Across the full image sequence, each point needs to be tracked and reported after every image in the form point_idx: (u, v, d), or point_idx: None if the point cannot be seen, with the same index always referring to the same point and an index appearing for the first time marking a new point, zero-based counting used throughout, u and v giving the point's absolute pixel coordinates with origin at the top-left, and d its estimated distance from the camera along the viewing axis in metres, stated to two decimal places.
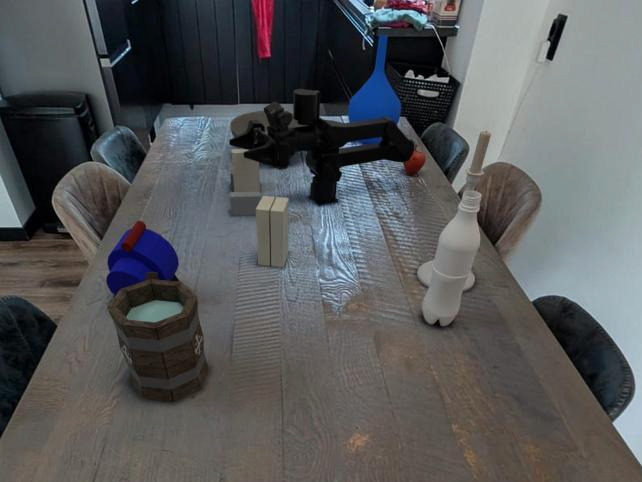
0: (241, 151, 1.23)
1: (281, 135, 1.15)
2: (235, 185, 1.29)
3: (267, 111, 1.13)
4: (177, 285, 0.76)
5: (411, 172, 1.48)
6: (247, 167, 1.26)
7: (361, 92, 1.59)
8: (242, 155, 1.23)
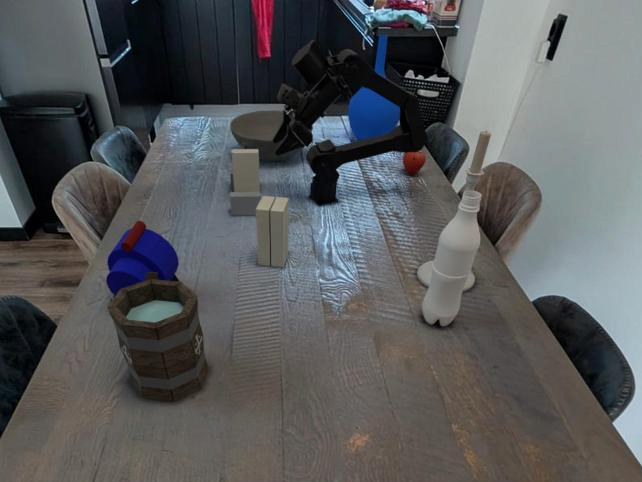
0: (241, 151, 1.23)
1: (299, 110, 1.16)
2: (235, 185, 1.29)
3: None
4: (177, 285, 0.76)
5: (411, 172, 1.48)
6: (247, 167, 1.26)
7: (361, 92, 1.59)
8: (242, 155, 1.23)
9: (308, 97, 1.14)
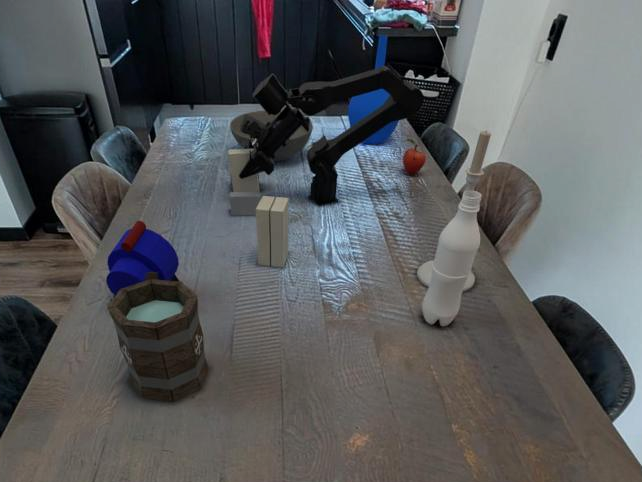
0: (238, 152, 1.23)
1: (261, 140, 1.20)
2: (234, 185, 1.28)
3: None
4: (177, 285, 0.76)
5: (411, 172, 1.48)
6: None
7: None
8: (239, 156, 1.23)
9: (269, 127, 1.18)
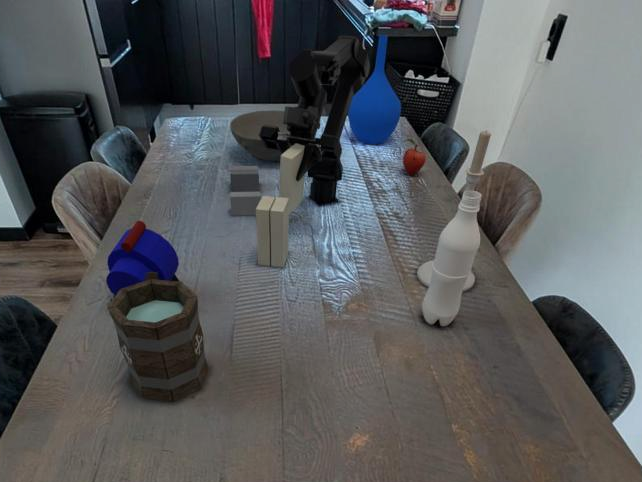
0: (294, 153, 1.04)
1: (312, 128, 1.05)
2: (290, 194, 1.09)
3: (289, 122, 1.02)
4: (177, 285, 0.76)
5: (411, 172, 1.48)
6: None
7: (361, 92, 1.59)
8: (297, 156, 1.05)
9: None
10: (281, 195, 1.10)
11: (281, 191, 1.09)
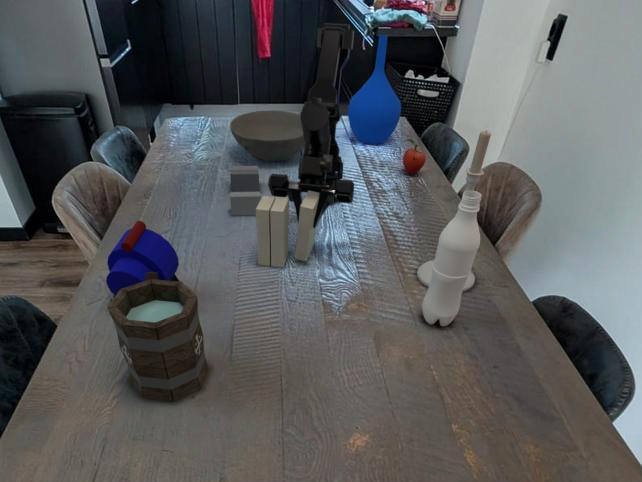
0: (312, 201, 1.01)
1: (325, 174, 1.03)
2: (309, 242, 1.06)
3: None
4: (177, 285, 0.76)
5: (411, 172, 1.48)
6: None
7: (361, 92, 1.59)
8: (315, 205, 1.02)
9: None
10: (298, 244, 1.07)
11: (299, 240, 1.06)
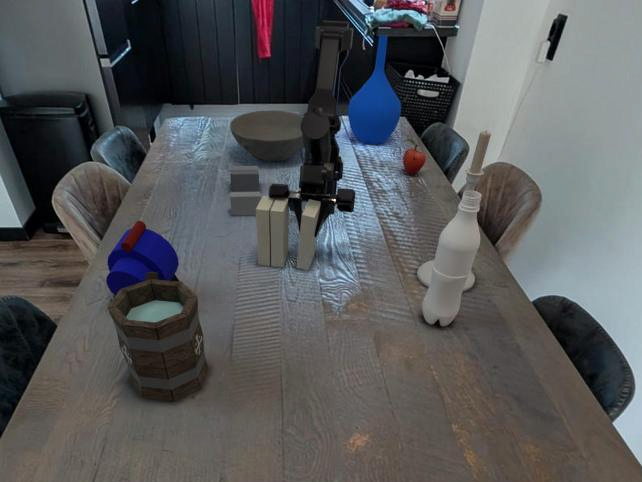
0: (313, 210, 1.00)
1: (326, 183, 1.02)
2: (310, 251, 1.05)
3: (306, 180, 0.98)
4: (177, 285, 0.76)
5: (411, 172, 1.48)
6: (316, 224, 1.04)
7: (361, 92, 1.59)
8: (317, 213, 1.01)
9: None
10: (300, 253, 1.06)
11: (300, 249, 1.05)
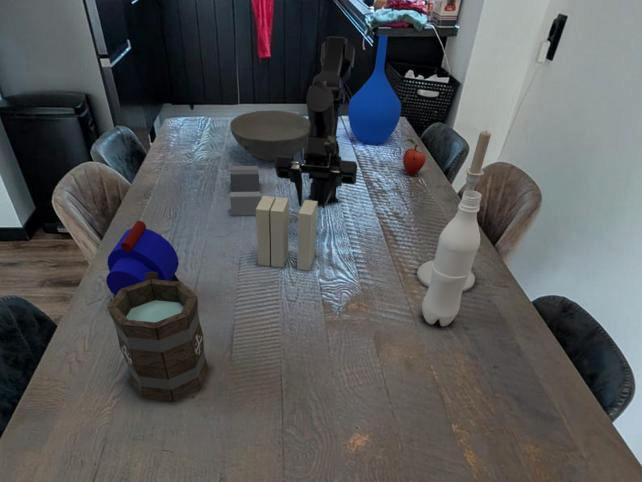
0: (310, 208, 1.01)
1: (329, 155, 1.07)
2: (310, 250, 1.05)
3: (310, 152, 1.03)
4: (177, 285, 0.76)
5: (411, 172, 1.48)
6: (314, 223, 1.04)
7: (361, 92, 1.59)
8: (313, 212, 1.01)
9: None
10: (299, 253, 1.06)
11: (299, 249, 1.05)
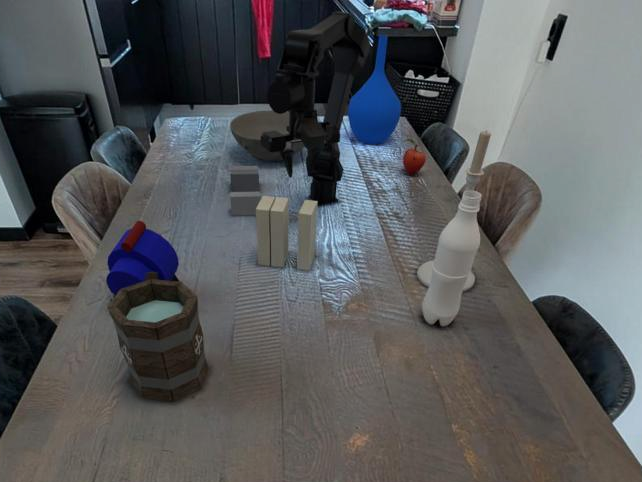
0: (310, 208, 1.01)
1: None
2: (310, 250, 1.05)
3: None
4: (177, 285, 0.76)
5: (411, 172, 1.48)
6: (314, 223, 1.04)
7: (361, 92, 1.59)
8: (313, 212, 1.01)
9: (316, 112, 1.07)
10: (299, 253, 1.06)
11: (299, 249, 1.05)
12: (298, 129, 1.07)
